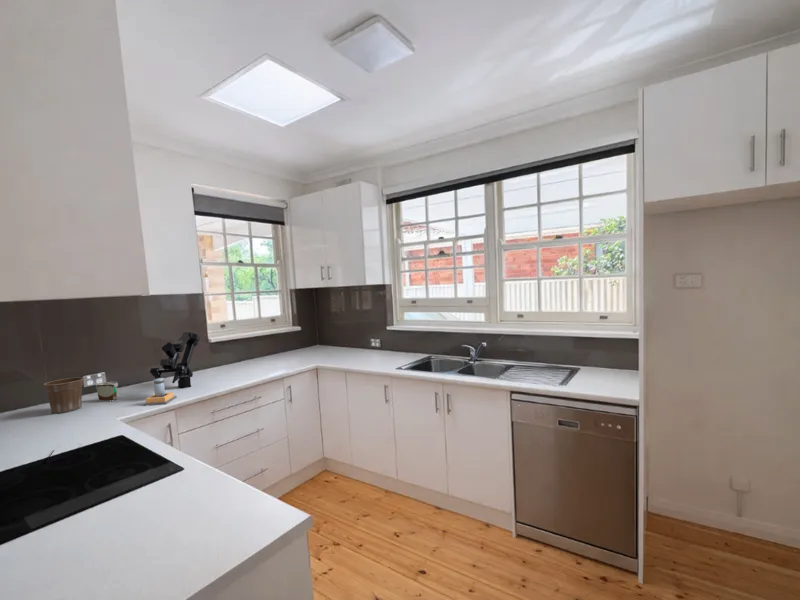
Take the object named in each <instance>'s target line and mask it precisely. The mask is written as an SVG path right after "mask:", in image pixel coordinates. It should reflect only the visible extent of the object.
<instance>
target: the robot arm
mask: <svg viewBox="0 0 800 600" xmlns="http://www.w3.org/2000/svg"><path fill="white" fill-rule="evenodd" d="M200 341H201V337H200V335H199V334H197V333H193V332H192V331H185V332H183V333H182V334H181V336H180V337H179V338H178V340H176V341H173V342H166V344H164V345H162V347H161V350H162V352H163V353H164V355H165V356H166V357H167V358H163V359H162V358H161V359H160V361H159V366H161V368H162V369H160V367H159V366H158V367H151V368H150V369H149V370H148V371H149V373H150V374H151V376H153V377H154V379H157V378H162V377H161V375H162V374H165V373H166V374H167V373H168V374H169V373H174V376H173V378H172V384H175V383H176V381H177V387H178V388H179V389H185V388H190V387H192V384H191V378H192V377H193V375H194V372H193V371H192V370H191V366H190V363H191V359H192V355H193V352H194V349H195V347H196V346H198V345H199V343H200ZM185 345H186V346H185ZM183 351H184V352H183ZM182 352H183V355H182V359H181V354H180V353H182ZM179 359H181V362H178V361H179Z"/></svg>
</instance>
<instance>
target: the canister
mask: <svg viewBox="0 0 800 600" xmlns="http://www.w3.org/2000/svg"><path fill="white" fill-rule="evenodd" d="M153 386H154V387H153V389H154V394H155V397H164V396H165V393H166V391H165V378H164V377H160V378H157V379H155V378H153Z"/></svg>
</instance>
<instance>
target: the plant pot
mask: <svg viewBox="0 0 800 600" xmlns="http://www.w3.org/2000/svg"><path fill="white" fill-rule="evenodd" d="M84 379H85V377H84V376H83V377H82V376H81V377H80V376H79V377H69V378H62V379H55V380H52V381H48V382H45V383H43V386H44V387H45V392H47V397H48V402H49V407H50V412H51V414H64V413H69V412H71V411H76V410H79V409H81V408H82V398H83V397H82V395H83V386H84Z"/></svg>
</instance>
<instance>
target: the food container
mask: <svg viewBox="0 0 800 600" xmlns="http://www.w3.org/2000/svg"><path fill="white" fill-rule="evenodd" d="M118 387H119V383H118V382H117V381H104V382H98V383H96V384H95V388H96V393H97V398H98V401H99V400H104V401H103V402H113V401H112V400H114V401H116V400H117V397H118V395H117V394H118V393H117V392H118ZM110 400H111V401H110Z"/></svg>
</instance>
